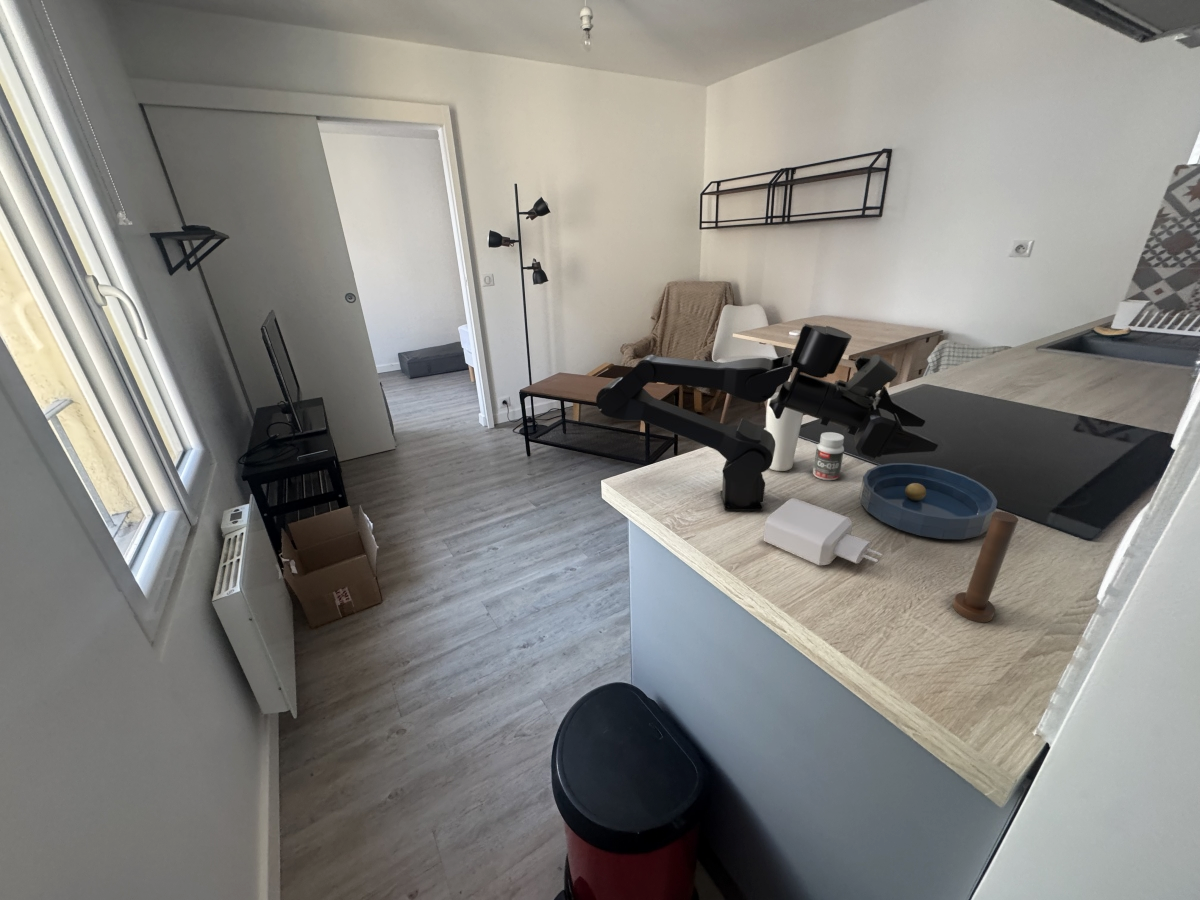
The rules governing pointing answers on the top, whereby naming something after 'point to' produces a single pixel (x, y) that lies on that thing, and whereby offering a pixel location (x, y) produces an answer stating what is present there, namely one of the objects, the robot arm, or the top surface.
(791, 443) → the drinking glass
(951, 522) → the bowl
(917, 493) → the bead
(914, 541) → the top surface
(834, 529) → the charger
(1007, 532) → the stirring stick
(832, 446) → the pill bottle
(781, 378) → the robot arm
